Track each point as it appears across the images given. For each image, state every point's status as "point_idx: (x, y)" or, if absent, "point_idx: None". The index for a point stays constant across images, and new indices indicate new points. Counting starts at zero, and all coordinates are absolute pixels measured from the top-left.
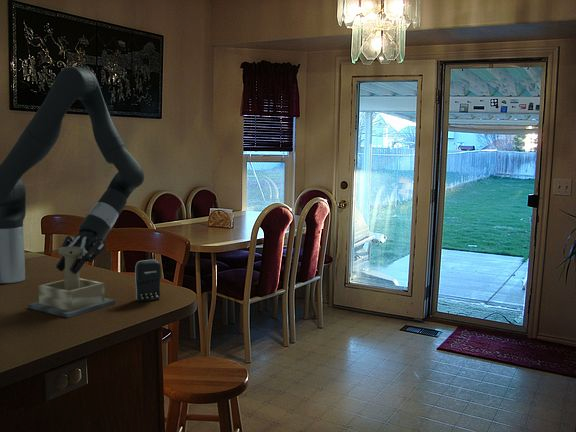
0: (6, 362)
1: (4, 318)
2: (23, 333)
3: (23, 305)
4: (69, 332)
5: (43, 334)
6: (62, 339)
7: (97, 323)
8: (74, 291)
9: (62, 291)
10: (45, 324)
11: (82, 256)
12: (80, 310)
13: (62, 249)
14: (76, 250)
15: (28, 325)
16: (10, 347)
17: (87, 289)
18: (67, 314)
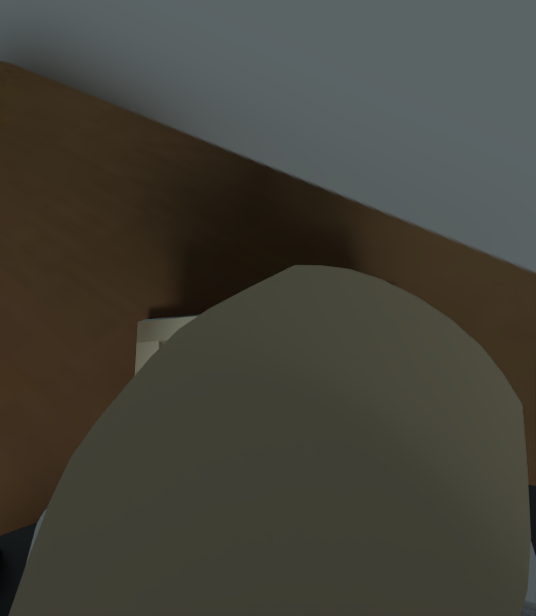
0: (14, 68)
1: (326, 189)
2: (141, 161)
3: (450, 307)
4: (27, 242)
5: (84, 189)
6: (3, 200)
7: (3, 355)
8: (136, 362)
9: (191, 318)
10: (157, 237)
11: (36, 534)
12: None
13: (257, 286)
14: (69, 492)
15: (194, 201)
16: (80, 103)
17: None
18: (146, 320)
